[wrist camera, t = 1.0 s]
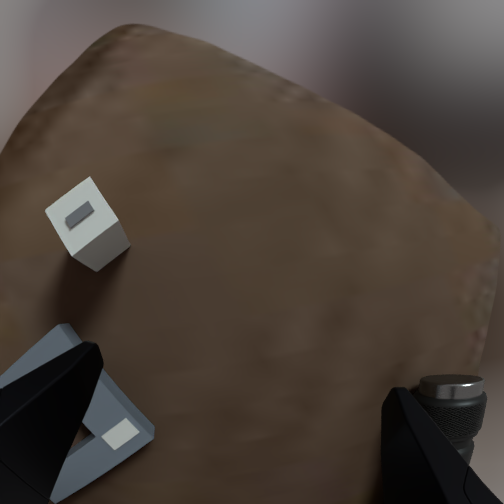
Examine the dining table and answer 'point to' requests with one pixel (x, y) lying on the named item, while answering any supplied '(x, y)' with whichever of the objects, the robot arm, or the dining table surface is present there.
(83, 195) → the block
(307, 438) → the dining table surface
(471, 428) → the muzzle brake
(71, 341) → the socket plate
